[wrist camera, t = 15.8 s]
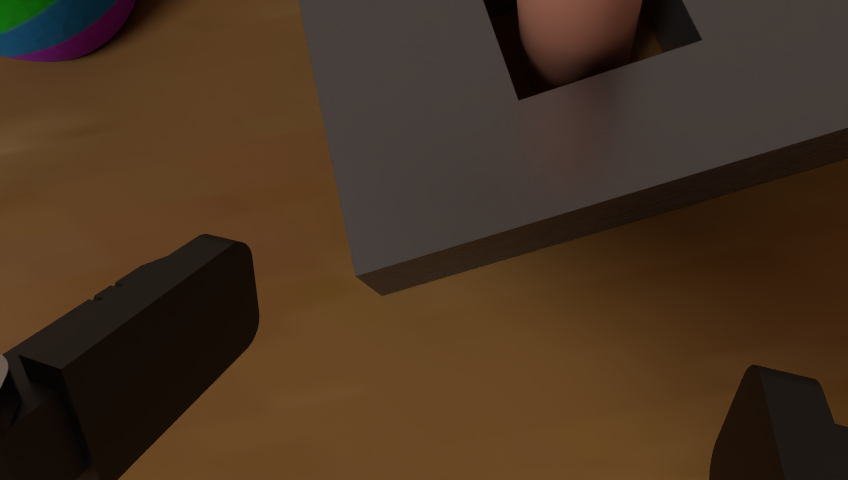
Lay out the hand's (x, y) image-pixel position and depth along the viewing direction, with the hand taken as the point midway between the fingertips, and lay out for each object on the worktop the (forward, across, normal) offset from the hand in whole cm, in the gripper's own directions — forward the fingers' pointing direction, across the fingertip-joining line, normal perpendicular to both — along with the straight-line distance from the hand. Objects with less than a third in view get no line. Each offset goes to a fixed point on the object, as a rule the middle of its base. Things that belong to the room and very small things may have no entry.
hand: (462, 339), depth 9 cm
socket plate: (+13, 0, -2) cm, 13 cm away
